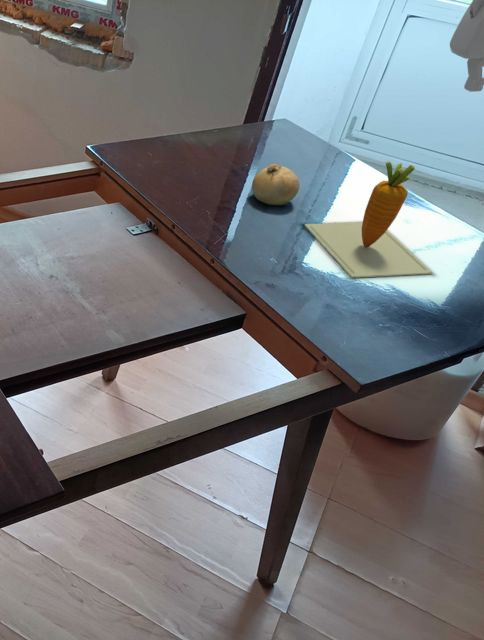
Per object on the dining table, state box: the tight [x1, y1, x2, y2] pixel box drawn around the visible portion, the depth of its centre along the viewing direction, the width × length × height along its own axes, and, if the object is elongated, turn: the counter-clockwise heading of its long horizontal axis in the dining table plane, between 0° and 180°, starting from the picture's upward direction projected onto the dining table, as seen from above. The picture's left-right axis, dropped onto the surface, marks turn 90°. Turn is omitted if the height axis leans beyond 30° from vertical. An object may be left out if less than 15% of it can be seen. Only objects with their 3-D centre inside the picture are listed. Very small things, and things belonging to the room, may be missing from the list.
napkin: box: [304, 221, 433, 279], centre depth 114 cm, size 16×14×1 cm
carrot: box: [362, 160, 416, 248], centre depth 109 cm, size 5×5×15 cm
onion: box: [251, 162, 301, 206], centre depth 123 cm, size 8×8×7 cm
